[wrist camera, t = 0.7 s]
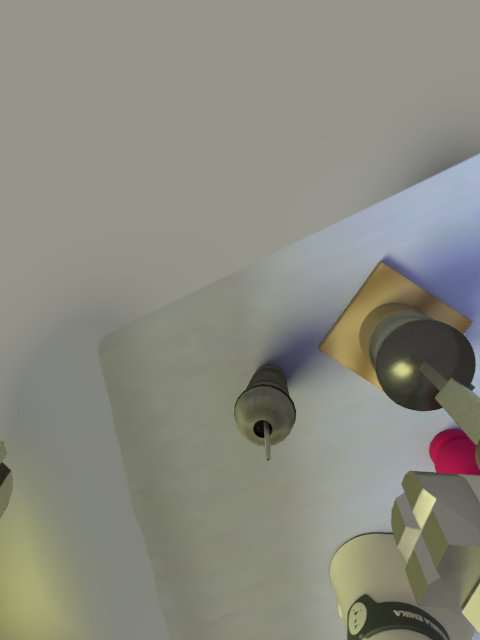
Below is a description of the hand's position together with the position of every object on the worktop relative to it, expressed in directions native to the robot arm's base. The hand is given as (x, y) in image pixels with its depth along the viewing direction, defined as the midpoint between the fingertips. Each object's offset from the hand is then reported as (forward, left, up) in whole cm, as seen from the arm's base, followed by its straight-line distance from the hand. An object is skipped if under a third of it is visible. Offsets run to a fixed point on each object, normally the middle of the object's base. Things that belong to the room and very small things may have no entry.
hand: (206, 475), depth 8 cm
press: (-19, -1, -48) cm, 51 cm away
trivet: (-18, -1, -49) cm, 52 cm away
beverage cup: (-8, +14, -49) cm, 52 cm away
